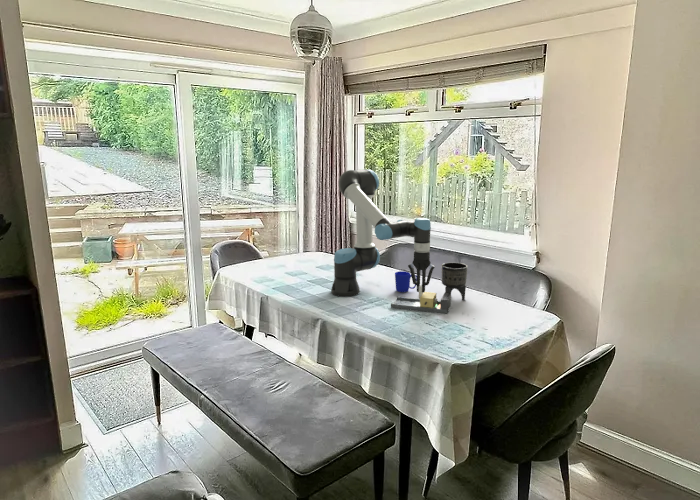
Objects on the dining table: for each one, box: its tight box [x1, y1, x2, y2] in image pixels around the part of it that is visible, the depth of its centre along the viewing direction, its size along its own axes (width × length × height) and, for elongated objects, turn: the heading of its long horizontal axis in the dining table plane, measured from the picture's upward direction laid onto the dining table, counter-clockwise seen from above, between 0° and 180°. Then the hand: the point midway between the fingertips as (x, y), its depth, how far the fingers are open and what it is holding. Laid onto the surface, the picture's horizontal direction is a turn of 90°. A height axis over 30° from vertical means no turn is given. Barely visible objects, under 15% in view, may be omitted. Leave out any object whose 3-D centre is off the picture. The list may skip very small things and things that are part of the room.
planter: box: [441, 261, 469, 301], centre depth 241 cm, size 13×13×18 cm
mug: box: [394, 271, 417, 293], centre depth 255 cm, size 8×12×10 cm
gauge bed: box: [390, 296, 452, 315], centre depth 231 cm, size 27×12×2 cm, turn 70°
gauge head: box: [420, 291, 438, 308], centre depth 228 cm, size 7×12×5 cm, turn 160°
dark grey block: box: [440, 291, 452, 312], centre depth 226 cm, size 3×12×6 cm, turn 160°
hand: (420, 298), depth 230 cm, fingers closed
